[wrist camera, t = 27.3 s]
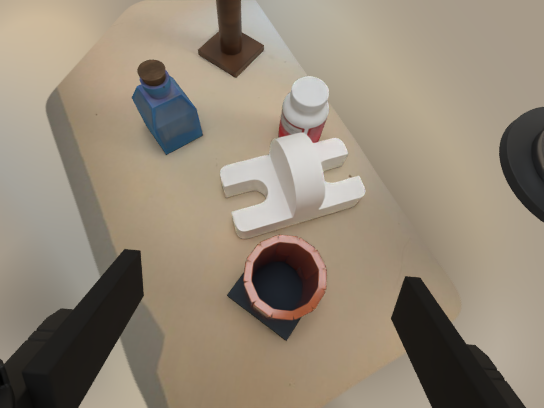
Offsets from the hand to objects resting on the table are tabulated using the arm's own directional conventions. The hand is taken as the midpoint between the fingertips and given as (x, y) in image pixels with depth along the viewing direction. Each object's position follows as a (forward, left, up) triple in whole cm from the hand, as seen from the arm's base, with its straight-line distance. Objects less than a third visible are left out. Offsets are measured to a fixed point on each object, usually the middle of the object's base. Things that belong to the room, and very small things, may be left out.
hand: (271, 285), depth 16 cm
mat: (0, -4, -25) cm, 25 cm away
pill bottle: (+10, -24, -25) cm, 36 cm away
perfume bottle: (+26, -14, -25) cm, 38 cm away
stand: (+29, -32, -25) cm, 49 cm away
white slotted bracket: (+6, -16, -25) cm, 30 cm away
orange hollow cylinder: (0, -4, -24) cm, 24 cm away
